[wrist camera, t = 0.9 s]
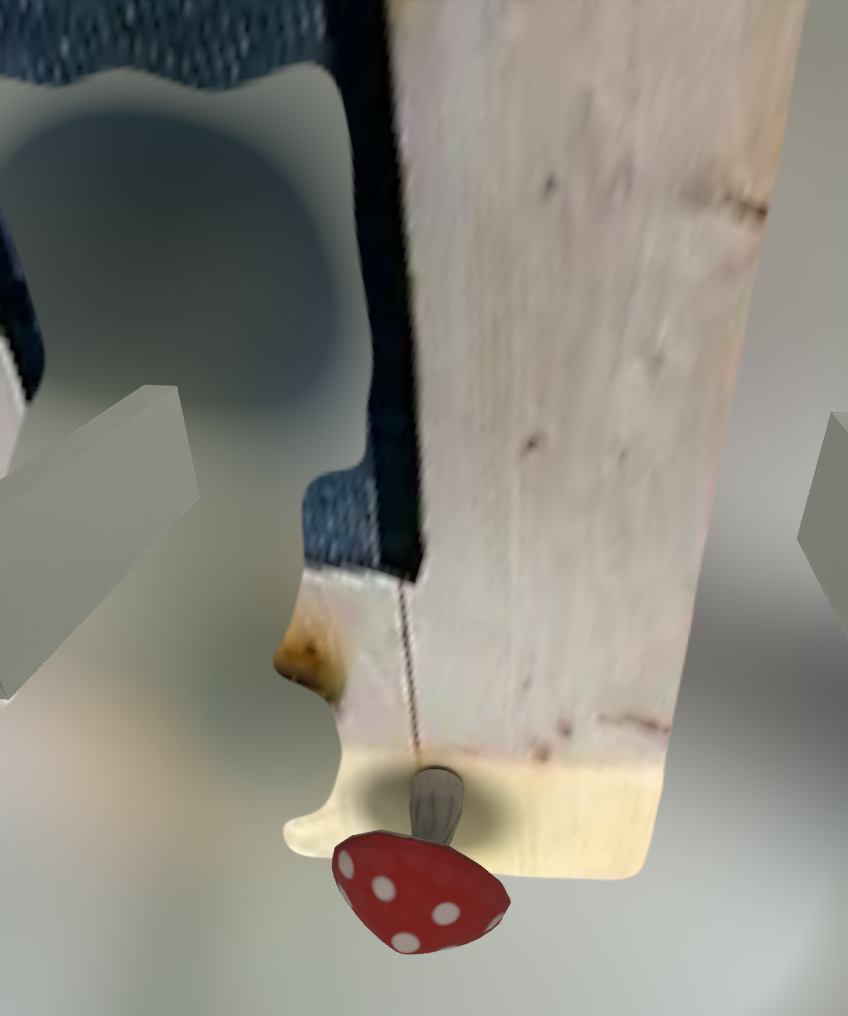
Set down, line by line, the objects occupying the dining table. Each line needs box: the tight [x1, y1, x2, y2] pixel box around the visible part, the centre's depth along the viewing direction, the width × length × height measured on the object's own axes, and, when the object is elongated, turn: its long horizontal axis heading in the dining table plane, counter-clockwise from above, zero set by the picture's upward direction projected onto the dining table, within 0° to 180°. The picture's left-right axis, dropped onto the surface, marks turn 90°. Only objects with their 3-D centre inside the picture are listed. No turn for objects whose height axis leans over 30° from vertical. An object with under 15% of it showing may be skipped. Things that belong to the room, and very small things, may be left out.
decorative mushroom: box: [332, 769, 511, 954], centre depth 63 cm, size 16×16×15 cm
